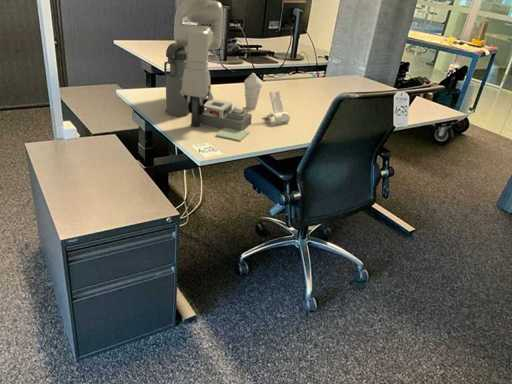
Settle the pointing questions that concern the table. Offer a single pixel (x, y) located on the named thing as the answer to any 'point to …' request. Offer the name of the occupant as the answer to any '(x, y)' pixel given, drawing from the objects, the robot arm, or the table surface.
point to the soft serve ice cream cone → (252, 90)
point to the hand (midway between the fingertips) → (195, 113)
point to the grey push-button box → (224, 116)
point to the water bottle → (175, 80)
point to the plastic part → (278, 110)
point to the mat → (232, 134)
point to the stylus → (195, 112)
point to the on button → (238, 110)
